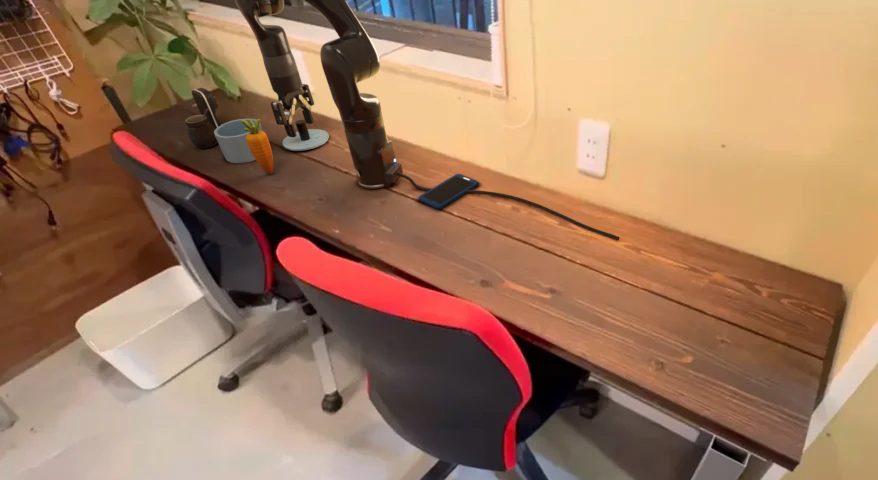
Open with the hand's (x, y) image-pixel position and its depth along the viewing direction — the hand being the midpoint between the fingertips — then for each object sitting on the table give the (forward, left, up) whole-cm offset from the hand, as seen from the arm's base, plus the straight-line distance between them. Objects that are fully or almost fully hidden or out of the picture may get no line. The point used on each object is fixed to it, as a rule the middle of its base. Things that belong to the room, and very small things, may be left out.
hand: (301, 129), depth 144 cm
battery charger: (+34, -4, -4) cm, 34 cm away
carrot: (-1, +18, -4) cm, 18 cm away
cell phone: (-50, +17, -4) cm, 53 cm away
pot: (+13, +9, -4) cm, 16 cm away
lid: (0, 0, -3) cm, 3 cm away
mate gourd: (+28, +7, -4) cm, 29 cm away
